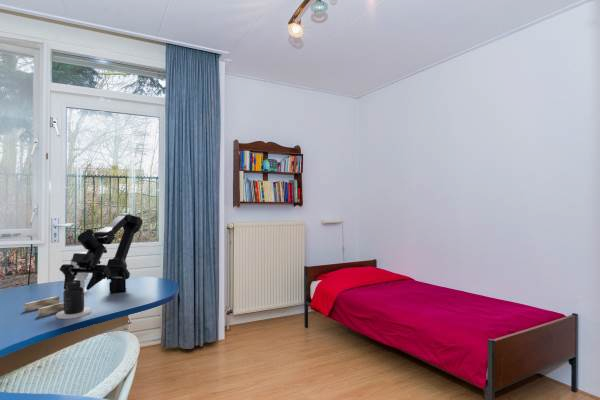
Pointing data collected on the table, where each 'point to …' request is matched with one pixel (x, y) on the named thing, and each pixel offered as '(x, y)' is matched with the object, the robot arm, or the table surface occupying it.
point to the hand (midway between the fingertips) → (75, 289)
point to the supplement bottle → (73, 297)
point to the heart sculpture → (81, 275)
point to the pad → (69, 316)
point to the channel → (45, 306)
